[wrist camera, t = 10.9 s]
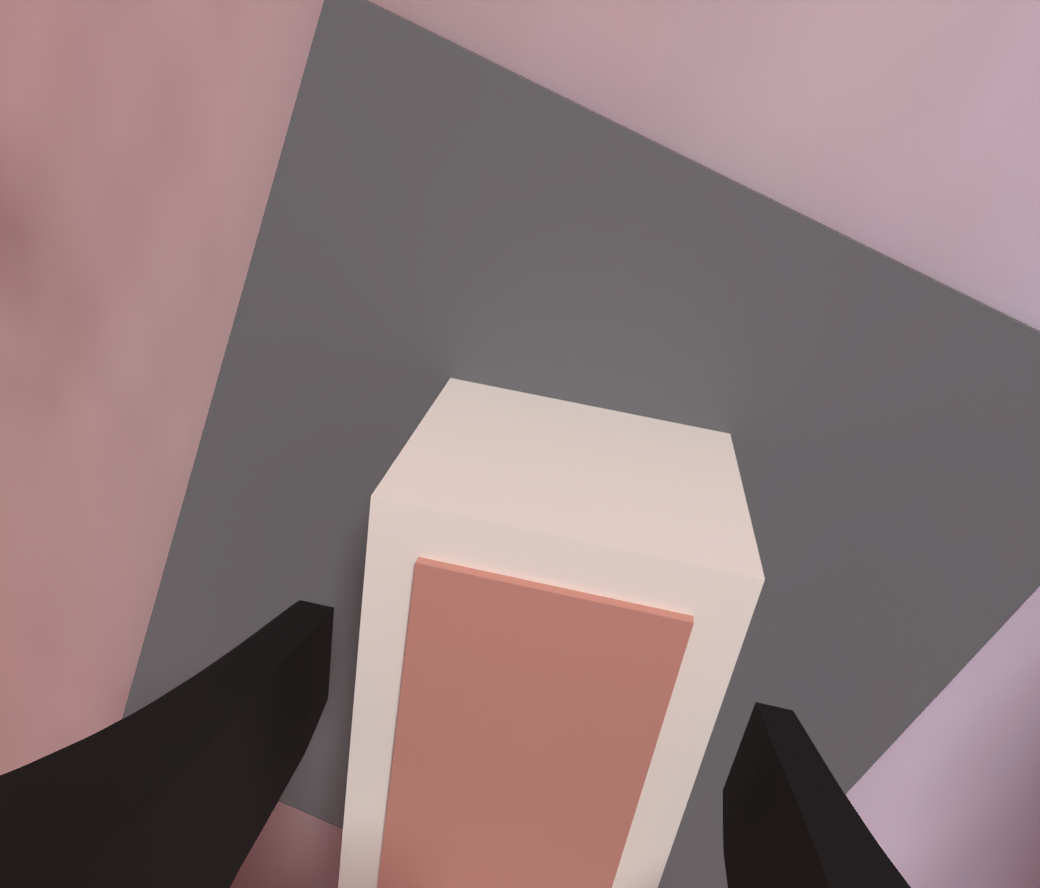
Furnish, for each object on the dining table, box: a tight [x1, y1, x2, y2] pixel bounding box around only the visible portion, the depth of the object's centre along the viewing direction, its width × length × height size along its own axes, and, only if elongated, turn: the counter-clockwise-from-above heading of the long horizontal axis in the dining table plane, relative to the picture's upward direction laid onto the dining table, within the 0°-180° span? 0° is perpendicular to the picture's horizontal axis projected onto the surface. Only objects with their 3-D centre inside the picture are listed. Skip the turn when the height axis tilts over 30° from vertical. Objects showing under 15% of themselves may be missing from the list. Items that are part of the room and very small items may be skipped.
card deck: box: [338, 378, 765, 888], centre depth 14 cm, size 8×5×5 cm, turn 171°
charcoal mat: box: [122, 0, 1040, 888], centre depth 16 cm, size 15×17×1 cm
